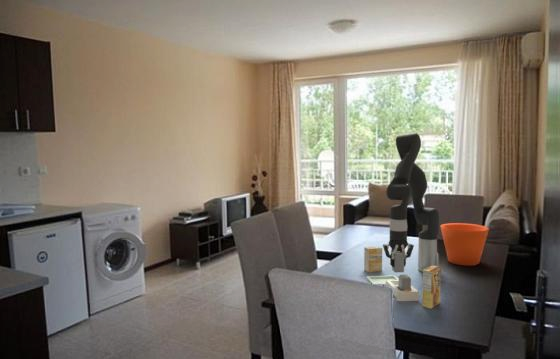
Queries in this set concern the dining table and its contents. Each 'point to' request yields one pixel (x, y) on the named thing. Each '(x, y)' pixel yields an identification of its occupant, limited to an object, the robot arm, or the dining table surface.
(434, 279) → the candy box
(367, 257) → the supplement box
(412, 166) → the robot arm
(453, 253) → the flowerpot
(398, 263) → the plug
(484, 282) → the dining table surface
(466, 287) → the dining table surface
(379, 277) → the tray
